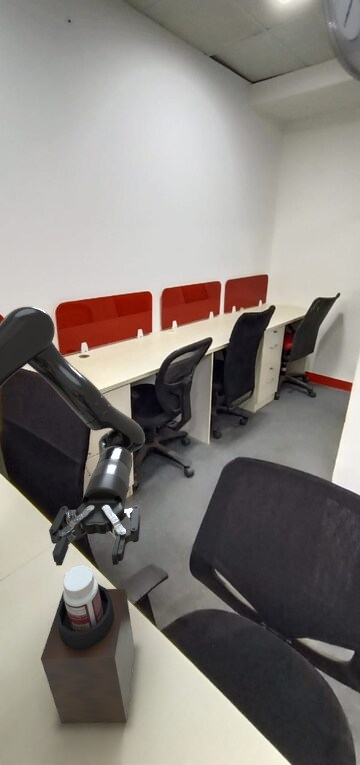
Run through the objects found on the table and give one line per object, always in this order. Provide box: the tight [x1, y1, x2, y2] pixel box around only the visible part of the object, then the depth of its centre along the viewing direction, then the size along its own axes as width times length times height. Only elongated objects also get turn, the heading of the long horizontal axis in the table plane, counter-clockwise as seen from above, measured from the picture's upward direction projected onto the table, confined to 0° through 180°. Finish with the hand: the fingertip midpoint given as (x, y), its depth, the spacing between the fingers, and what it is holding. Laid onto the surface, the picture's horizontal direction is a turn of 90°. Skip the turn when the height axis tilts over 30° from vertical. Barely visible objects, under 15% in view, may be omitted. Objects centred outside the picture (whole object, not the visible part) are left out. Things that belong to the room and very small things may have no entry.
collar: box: [55, 583, 114, 649], centre depth 52 cm, size 8×8×3 cm
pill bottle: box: [62, 564, 103, 631], centre depth 50 cm, size 5×5×8 cm
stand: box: [40, 588, 136, 724], centre depth 55 cm, size 10×10×16 cm
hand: (86, 561), depth 53 cm, fingers open, 8 cm apart
